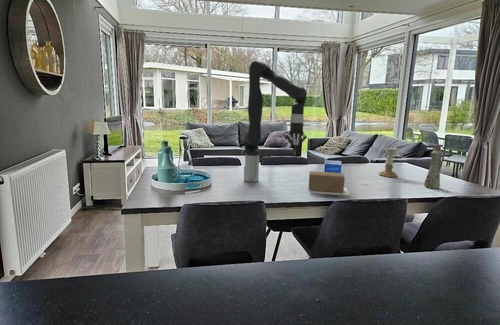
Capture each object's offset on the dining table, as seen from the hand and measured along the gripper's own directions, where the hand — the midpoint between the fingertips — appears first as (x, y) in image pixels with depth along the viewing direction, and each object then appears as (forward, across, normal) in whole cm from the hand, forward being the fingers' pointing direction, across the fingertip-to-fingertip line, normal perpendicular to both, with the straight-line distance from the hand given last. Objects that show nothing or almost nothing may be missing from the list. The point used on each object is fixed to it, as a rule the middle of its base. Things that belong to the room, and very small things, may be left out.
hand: (295, 150), depth 193 cm
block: (+18, +9, 0) cm, 20 cm away
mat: (+23, +21, 0) cm, 31 cm away
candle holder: (+23, +67, +52) cm, 88 cm away
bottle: (+23, +87, +24) cm, 93 cm away
